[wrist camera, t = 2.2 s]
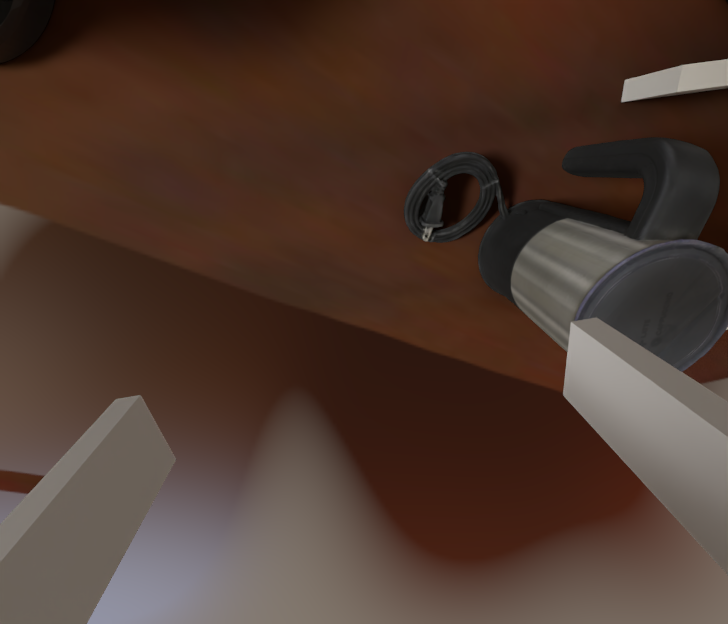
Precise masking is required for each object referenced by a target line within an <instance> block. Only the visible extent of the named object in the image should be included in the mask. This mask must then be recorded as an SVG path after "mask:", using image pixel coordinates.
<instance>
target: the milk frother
mask: <svg viewBox="0 0 728 624" xmlns="http://www.w3.org/2000/svg"><path fill="white" fill-rule="evenodd" d="M562 168H563V169H564V170H565V171H566V172H568V173H570V174H573V175H577V176H582V177H613V178H643V180H644V193H643V197H642V200H641V202H640V204H639V206H638V208H637V210H636V213H635V215H634V217H633V219H632V221H631V222H630V221H626V220H623V219H619V218H616V217H613V216H610V215H606V214H602V213H598V212H594V211H590V210H585V209H580V208H576V207H572V206H568V205H565V204H561V203H556V202H550V201H547V200H529V201H525V202H522V203H519V204H516V205H515V206H513V207H510V208H509V209H507V208H506V205H505V201H504V197H503V192H502V189H501V186H500V183H499V178H498V176H497V172H496V170H495V168H494V166H493V165H492V164H491V162H490V161H489V160H488V159H487V158H485V157H484V156H482V155H480V154H477V153H474V152H460V153H455V154H452V155H450V156H448V157H445V158H444V159H442V160H440V161H439V162H437V163H436V164H434V165H433V166H431V167H430V168H429V169H428V170H427V171H426V172H424V173H423V174H422V175H421V176H420V177H419V178H418V180H417V181H416V182H415V183H414V185H413V186H412V188H411V189H410V191H409V193H408V195H407V197H406V201H405V206H404V217H405V221H406V224H407V226H408V228H409V230H410V231H411V232H412V233H413V234H414V235H416V236H417V237H419V238H420V239H422V240H424V241H429V242H449V241H453V240H456V239H458V238H460V237H461V236H462V235H464V234H466V233H468V232H469V231H471V230H472V229H473V228H475V227H476V226H477V225H478V224H479V223H480V222H481V221H482V220H483V218H484V217H485V216H486V214H487V212H488V211H489V209H490V207H491V205H492V203H493V200H494V197H495V195H496V196H497V200H498V208H499V212H500V215H499V216H498V217H497V218H496V219H495V220H494V222H493V223H492V224H491V225H490V226H489V228H488V229H487V231H486V233H485V235H484V237H483V239H482V241H481V244H480V248H479V254H478V264H479V270H480V272H481V275H482V278H483V279H484V281H485V283H486V284H487V285H488V286H489V287H490V288H491V289H493V290H494V291H496V292H497V293H499V294H501V295H504V296H505V297H507V298H508V299H509V300H510V301H511V302H513V303H514V304H515V305H516V306H517V307H518V308H519V309H520V310H521V311H523V312H524V313H525V314H526V315H527V316H528V317H529V318H530V319H531V320H532V321H533V322H535V323H536V324H537V325H538V326H539V327H540V328H541V329H542V330H543V331H545V332H546V333H547V334H548V335H549V336H550V337H551V338H552V339H553V340H554V341H556V342H557V343H558V344H559V345H560V346H561V347H562V348H563V349H564V350H566V351H567V352H568V344H569V334H570V325H571V322H573V321H578V320H584V319H590V318H596V317H597V318H598V319H600V320H601V321H603V322H604V323H606V324H608V325H609V326H611V327H612V328H614V329H615V330H617V331H618V332H620V333H622V334H623V335H625V336H626V337H628V338H629V339H631V340H632V341H634V342H636V343H637V344H639V345H640V346H642V347H643V348H645V349H646V350H648V351H650V352H651V353H653V354H654V355H656V356H657V357H659V358H660V359H662V360H664V361H665V362H667V363H668V364H670V365H671V366H673V367H674V368H676V369H678V370H679V371H681V372H682V371H684V370H685V369H687V368H688V367H689V366H691V365H692V364H694V363H695V362H696V361H697V360H698V359H699V358H701V357H702V356H704V355H705V354H706V353H707V352H708V351H709V350H710V348H711V347H713V346H714V344H715V343H716V341H717V340H718V339H719V338H720V337H721V336H722V334H723V333H724V332H725V330H726V329H727V327H728V254H727V253H726V252H725V251H724V249H722V248H720V247H718V246H715V245H712V244H710V243H706V242H703V241H700V240H697V239H698V237H699V235H700V233H701V231H702V229H703V227H704V225H705V223H706V222H707V220H708V218H709V216H710V214H711V212H712V210H713V208H714V205H715V203H716V200H717V196H718V192H719V185H720V179H719V172H718V168H717V166H716V164H715V162H714V160H713V158H712V157H711V155H710V154H709V153H708V151H707V150H705V149H703V148H701V147H698V146H696V145H693V144H691V143H687V142H683V141H679V140H675V139H669V138H656V137H653V138H642V139H633V140H622V141H615V142H608V143H601V144H593V145H587V146H580V147H575V148H573V149H571V150H570V151H568V153H567V154H566V156H565V157H564V159H563V163H562ZM460 173H467V174H471V175H473V176H474V177H476V178H477V180H478V181H479V185H480V197H479V200H478V202H477V204H476V206H475V207H474V208H473V210H472V211H471V212H470V213H469V214H468V215H467V217H465V218H464V219H463V220H461V221H460V222H458V223H457V224H455V225H453V226H451V227H449V228H445V229H440V230H433V228H437V227H442V226H443V224H444V222H443V221H442V220H441V216H442V210H443V202H444V200H445V195H444V190H445V188H446V187H447V185H448V183H447V180H448V179H449V178H450V177H452V176H454V175H456V174H460ZM423 199H424V200H423ZM422 201H423V204H422ZM421 204H422V206H421ZM420 206H421V209H420Z"/></svg>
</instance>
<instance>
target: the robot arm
mask: <svg viewBox="0 0 728 624" xmlns="http://www.w3.org/2000/svg"><path fill="white" fill-rule="evenodd" d="M54 1H55V0H0V63H3V62H6V61H9V60H11V59H14V58H15V57H17V56H19V55H21V54H22V53H24V52H25V51H26V50H28V49H29V48H30V47H31V46H32V45H33V44H34V43H35V42H36V41H37V39H38V38H39V37H40V35H41V34H42V32H43V30H44V29H45V27H46V25H47V23H48V21H49V18H50V15H51V12H52V9H53V5H54ZM563 396H564V397H565V398H566V399H567V400H568V401H569V402H570V403H571V404H572V405H573V406H574V408H575V409H576V410H577V411H578V412H579V413H580V414H581V415H582V416H583V417H584V418H585V420H586V421H587V422H588V423H589V424H590V425H591V426H592V427H593V428H594V429H595V431H596V432H598V434H599V435H600V436H601V437H602V438H603V439H604V440H605V441H606V443H607V444H608V445H609V446H610V447H611V448H612V449H613V450H614V451H615V452H616V453H617V455H618V456H619V457H620V458H621V459H622V460H623V461H624V462H625V463H626V464H627V465H628V466H629V468H630V469H631V470H632V471H633V472H634V473H635V474H636V475H637V476H638V477H639V479H640V480H641V481H642V482H643V483H644V484H645V485H646V486H647V487H648V488H649V489H650V491H651V492H652V493H653V494H654V495H655V496H656V497H657V498H658V499H659V500H660V502H661V503H662V504H663V505H664V506H665V507H666V508H667V509H668V510H669V511H670V512H671V513H672V515H673V516H674V517H675V518H676V519H677V520H678V521H679V522H680V523H681V524H682V526H683V527H684V528H685V529H686V530H687V531H688V532H689V533H690V534H691V535H692V536H693V538H694V539H695V540H696V541H697V542H698V543H699V544H700V545H701V546H702V547H703V548H704V550H705V551H706V552H707V553H708V554H709V555H710V556H711V557H712V558H713V559H714V560H715V562H716V563H717V564H718V565H719V566H720V567H721V568H722V569H723V570H724V571H725V572H726V574H727V575H728V402H727V401H726V400H724V399H723V398H721V397H720V396H718V395H716V394H715V393H713V392H711V391H710V390H709V389H707V388H706V387H704V386H703V385H701V384H699V383H698V382H696V381H695V380H693V379H692V378H690V377H689V376H687V375H685V374H684V373H682V372H681V371H679V370H678V369H676V368H674V367H673V366H671V365H670V364H668V363H667V362H665V361H664V360H662V359H660V358H659V357H657V356H656V355H654V354H653V353H651V352H650V351H648V350H646V349H645V348H643V347H642V346H640V345H639V344H637V343H636V342H634V341H632V340H631V339H629V338H628V337H626V336H625V335H623V334H622V333H620V332H618V331H617V330H615V329H614V328H612V327H611V326H609V325H608V324H606V323H604V322H603V321H601V320H600V319H598V318H597V317H596V318H590V319H584V320H578V321H573V322H571V325H570V334H569V344H568V353H567V363H566V372H565V382H564V391H563ZM175 461H176V458H175V456H174V455H173V453H172V451H171V449H170V447H169V446H168V444H167V442H166V440H165V438H164V437H163V435H162V433H161V431H160V430H159V428H158V426H157V424H156V422H155V420H154V419H153V417H152V415H151V413H150V411H149V409H148V408H147V406H146V404H145V402H144V400H143V398H142V397H141V395H138V396H132V397H126V398H120V399H116V400H115V401H114V402H113V403H112V404H111V405H110V406H109V407H108V409H107V410H106V411H105V412H104V413H103V414H102V415H101V416H100V417H99V418H98V419H97V420H96V422H95V423H94V424H93V425H92V426H91V427H90V428H89V429H88V430H87V431H86V432H85V433H84V434H83V436H82V437H81V438H80V439H79V440H78V441H77V442H76V443H75V444H74V445H73V446H72V447H71V448H70V450H69V451H68V452H67V453H66V454H65V455H64V456H63V457H62V458H61V459H60V460H59V461H58V462H57V464H56V465H55V466H54V467H53V468H52V469H51V470H50V471H49V472H48V473H47V474H46V475H45V477H44V478H43V479H42V480H41V481H40V482H39V483H38V484H37V485H36V486H35V487H34V488H33V489H32V491H31V492H30V493H29V494H28V495H27V496H26V497H25V498H24V499H23V500H22V501H21V502H20V504H19V505H18V506H17V507H16V508H15V509H14V510H13V511H12V512H11V513H10V514H9V515H8V517H7V518H6V519H5V520H4V521H3V522H2V523H1V524H0V624H87V622H88V620H89V618H90V617H91V615H92V613H93V611H94V609H95V608H96V606H97V604H98V602H99V600H100V598H101V597H102V594H103V593H104V591H105V589H106V587H107V586H108V584H109V582H110V580H111V578H112V576H113V574H114V573H115V571H116V569H117V567H118V565H119V563H120V562H121V560H122V558H123V556H124V554H125V553H126V551H127V549H128V547H129V545H130V543H131V542H132V540H133V538H134V536H135V534H136V532H137V531H138V529H139V527H140V525H141V523H142V521H143V519H144V518H145V516H146V514H147V512H148V510H149V508H150V506H151V505H152V503H153V501H154V499H155V497H156V496H157V494H158V492H159V490H160V488H161V487H162V485H163V483H164V481H165V479H166V477H167V475H168V474H169V472H170V470H171V468H172V466H173V465H174V463H175Z"/></svg>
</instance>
